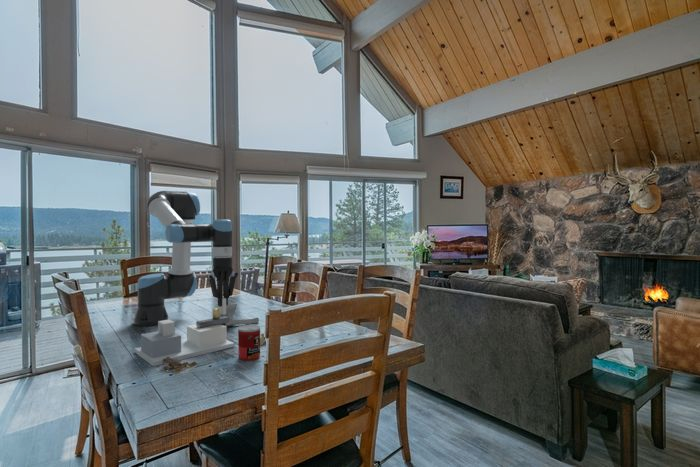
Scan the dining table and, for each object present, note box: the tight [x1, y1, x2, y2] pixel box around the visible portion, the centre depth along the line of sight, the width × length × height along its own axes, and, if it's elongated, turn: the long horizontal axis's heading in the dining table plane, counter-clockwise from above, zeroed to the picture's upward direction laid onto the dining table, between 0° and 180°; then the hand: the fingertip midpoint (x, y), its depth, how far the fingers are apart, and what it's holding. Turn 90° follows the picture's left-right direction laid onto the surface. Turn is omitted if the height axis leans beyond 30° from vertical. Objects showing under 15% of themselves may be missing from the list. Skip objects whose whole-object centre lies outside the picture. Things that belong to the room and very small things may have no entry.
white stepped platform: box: [134, 319, 235, 367], centre depth 152 cm, size 20×30×12 cm, turn 135°
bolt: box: [196, 307, 229, 328], centre depth 159 cm, size 3×12×6 cm, turn 135°
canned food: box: [237, 324, 261, 362], centre depth 143 cm, size 8×8×11 cm
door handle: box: [219, 303, 260, 328], centre depth 191 cm, size 18×8×20 cm
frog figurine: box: [161, 357, 199, 374], centre depth 133 cm, size 12×12×4 cm
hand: (222, 313), depth 162 cm, fingers closed
